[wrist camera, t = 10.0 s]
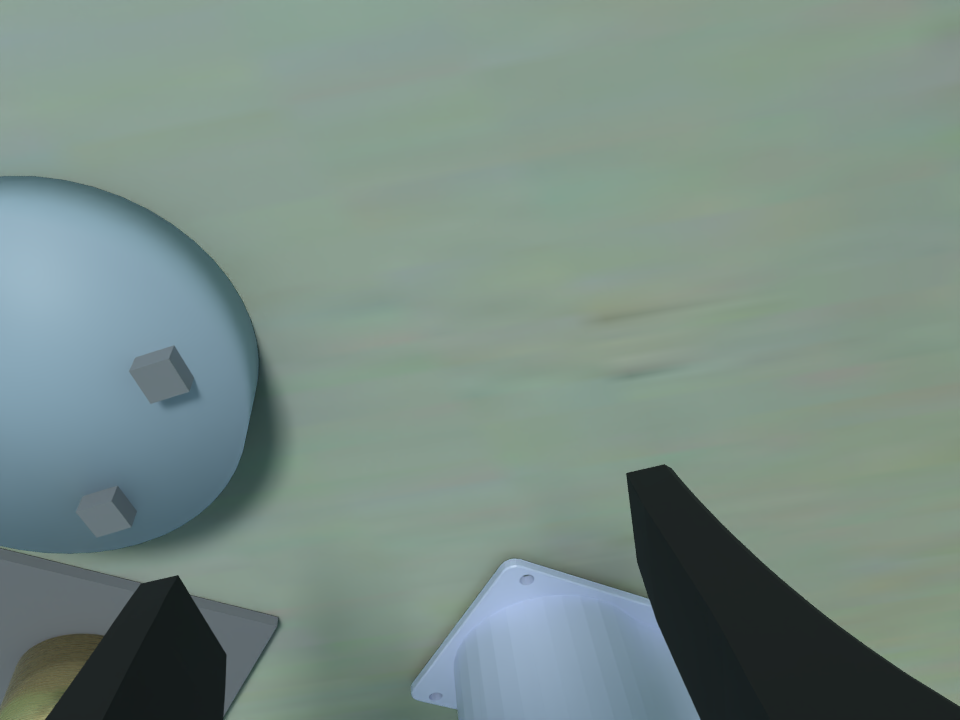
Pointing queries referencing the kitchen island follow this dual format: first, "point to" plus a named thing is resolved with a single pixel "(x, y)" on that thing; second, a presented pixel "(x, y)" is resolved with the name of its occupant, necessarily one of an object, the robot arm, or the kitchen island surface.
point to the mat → (104, 614)
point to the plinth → (112, 371)
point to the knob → (45, 675)
